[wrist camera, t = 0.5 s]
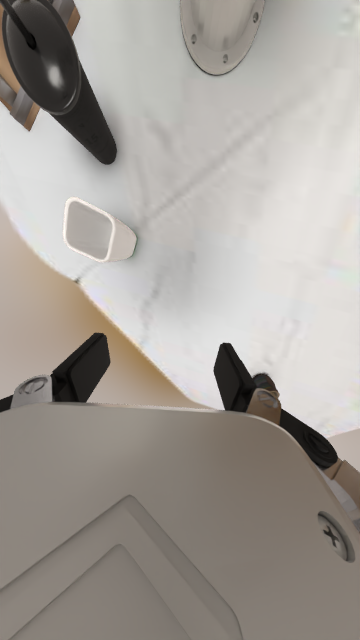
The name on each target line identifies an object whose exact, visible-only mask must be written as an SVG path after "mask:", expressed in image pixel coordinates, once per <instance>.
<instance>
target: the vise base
mask: <svg viewBox="0 0 360 640" xmlns="http://www.w3.org/2000/svg"><path fill="white" fill-rule="evenodd" d="M52 5H53V7H54V8H55V9H56V10H57V12H58V13H59V14H60V16H61V17H62V19H63V21H64V22H65V24H66V26H67V28H68V30H69V32H70V34H71V37H72V35H73V33H74V30H75V28H76V26H77V24H78V21H79V19H80V15H79V13H78V11H77V8H76V6H75V4H74V1H73V0H54V1H53V4H52ZM3 10H4V8H3V7H2V5H1V4H0V101H1V102H2V103H3V104H4V105H5V106H6V107H7V108H8V110H9V111H10V114H11V115H12V116H13V117H14V119H16V120H17V121H18V122H19V123H20V124H22V125H23V126H24V127H25V128H26V129H27V130H29V131H30V129H31V127H32V125H33V122H34V120H35V118H36V116H37V113H38V111H39V109H40V107H39V106H38V105H37V104H36V103H35V102H33V101H32V99H31V98H30V97H29V96H28V95H27V94H26V93H25V91H24V90H23V88H22V87H21V86H20V84H19V82H18V81H17V79H16V77H15V75H14V73H13V71H12V69H11V66H10V64H9V61H8V58H7V55H6V52H5V48H4V43H3V37H2V15H3Z"/></svg>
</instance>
